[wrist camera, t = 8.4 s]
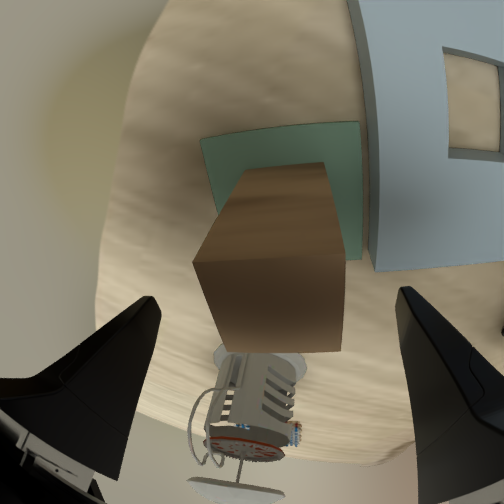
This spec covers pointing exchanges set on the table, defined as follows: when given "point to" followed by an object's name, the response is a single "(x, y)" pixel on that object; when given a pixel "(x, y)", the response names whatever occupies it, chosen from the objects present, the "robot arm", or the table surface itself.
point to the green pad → (296, 152)
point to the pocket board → (427, 134)
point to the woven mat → (294, 433)
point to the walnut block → (276, 263)
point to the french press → (248, 419)
